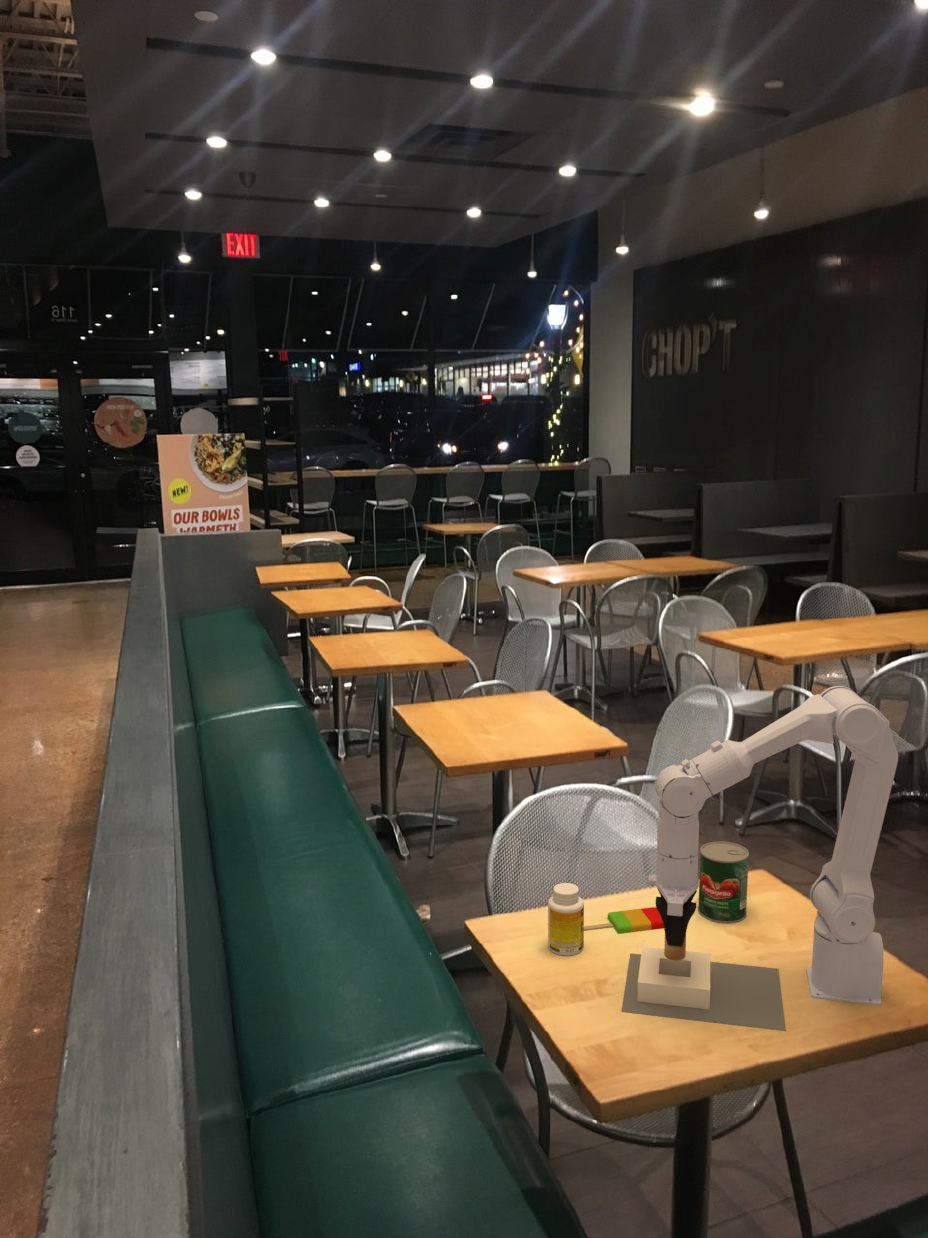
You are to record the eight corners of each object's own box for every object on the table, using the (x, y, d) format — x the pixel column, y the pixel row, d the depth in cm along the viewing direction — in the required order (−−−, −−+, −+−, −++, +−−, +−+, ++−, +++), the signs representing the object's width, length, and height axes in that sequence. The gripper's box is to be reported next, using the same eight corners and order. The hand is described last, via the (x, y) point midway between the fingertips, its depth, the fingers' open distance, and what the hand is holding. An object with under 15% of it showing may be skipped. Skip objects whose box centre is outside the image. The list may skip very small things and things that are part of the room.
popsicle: (672, 931, 164) (672, 920, 164) (584, 943, 162) (584, 932, 161) (659, 915, 170) (659, 905, 169) (573, 926, 167) (573, 915, 167)
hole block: (709, 972, 151) (710, 953, 150) (709, 1009, 141) (710, 990, 141) (641, 965, 153) (642, 946, 153) (637, 1001, 144) (637, 982, 143)
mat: (778, 970, 151) (778, 968, 151) (785, 1033, 136) (785, 1031, 136) (630, 955, 157) (630, 953, 157) (621, 1013, 141) (621, 1011, 141)
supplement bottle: (587, 957, 156) (587, 895, 154) (551, 959, 156) (551, 897, 154) (580, 938, 162) (580, 879, 160) (545, 940, 161) (545, 881, 159)
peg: (685, 951, 147) (687, 893, 146) (685, 961, 145) (686, 903, 143) (664, 948, 148) (666, 891, 146) (663, 959, 145) (665, 901, 143)
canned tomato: (701, 923, 166) (703, 860, 164) (695, 900, 174) (696, 840, 172) (750, 924, 165) (753, 861, 163) (742, 902, 173) (744, 841, 171)
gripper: (651, 828, 151) (650, 912, 154) (645, 870, 137) (644, 961, 140) (700, 832, 149) (697, 916, 152) (699, 874, 136) (696, 967, 138)
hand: (675, 938), depth 146 cm, fingers closed on peg, 3 cm apart
